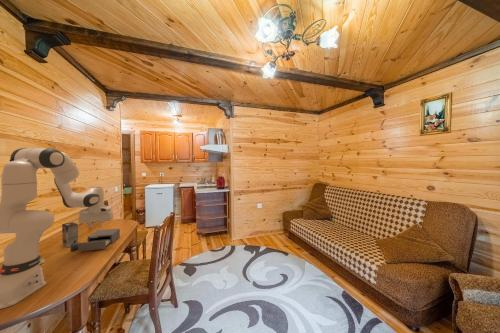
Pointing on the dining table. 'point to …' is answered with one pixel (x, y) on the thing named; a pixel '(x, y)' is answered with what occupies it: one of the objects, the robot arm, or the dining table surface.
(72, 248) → the grey rounded piece
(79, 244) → the tray
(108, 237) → the housing
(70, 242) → the coffee box
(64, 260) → the dining table surface
